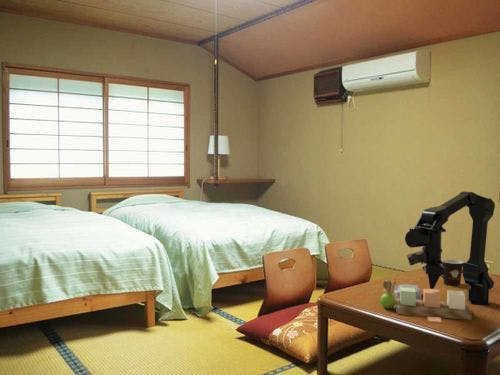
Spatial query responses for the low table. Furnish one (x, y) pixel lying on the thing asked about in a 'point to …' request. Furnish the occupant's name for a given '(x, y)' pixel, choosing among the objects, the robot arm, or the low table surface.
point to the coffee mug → (452, 272)
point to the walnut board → (433, 310)
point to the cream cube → (456, 299)
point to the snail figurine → (388, 294)
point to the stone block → (397, 288)
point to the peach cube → (431, 298)
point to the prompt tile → (434, 319)
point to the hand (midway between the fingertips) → (431, 288)
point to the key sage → (407, 296)
